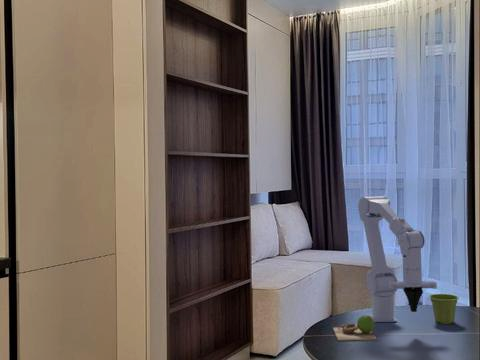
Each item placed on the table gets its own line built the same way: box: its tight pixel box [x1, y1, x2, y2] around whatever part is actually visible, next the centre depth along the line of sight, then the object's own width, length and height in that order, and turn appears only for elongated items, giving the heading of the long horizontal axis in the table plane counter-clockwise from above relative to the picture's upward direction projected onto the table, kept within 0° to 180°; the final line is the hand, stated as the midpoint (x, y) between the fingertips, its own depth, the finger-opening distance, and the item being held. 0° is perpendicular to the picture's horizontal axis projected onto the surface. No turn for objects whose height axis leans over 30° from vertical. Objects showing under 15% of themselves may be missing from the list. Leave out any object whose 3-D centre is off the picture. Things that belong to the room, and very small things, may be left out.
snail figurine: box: [337, 315, 376, 333], centre depth 167 cm, size 5×6×12 cm
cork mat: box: [332, 326, 378, 342], centre depth 166 cm, size 14×12×1 cm
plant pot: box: [429, 293, 459, 325], centre depth 178 cm, size 9×9×9 cm
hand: (413, 311), depth 165 cm, fingers closed
